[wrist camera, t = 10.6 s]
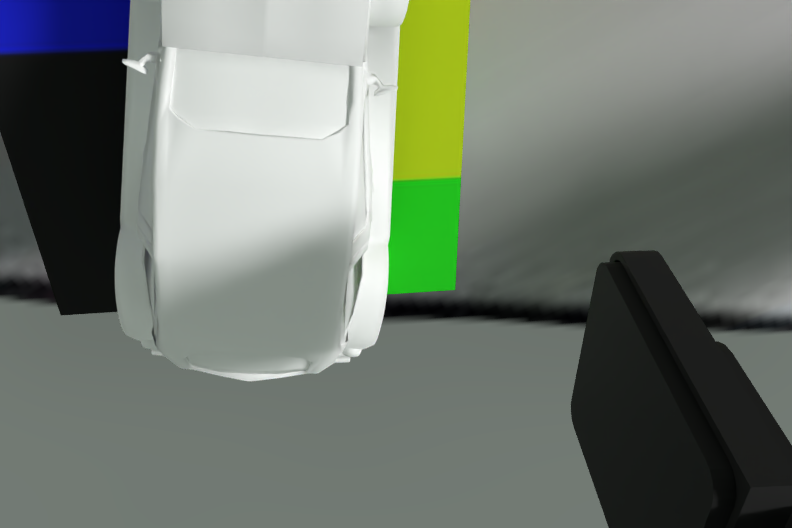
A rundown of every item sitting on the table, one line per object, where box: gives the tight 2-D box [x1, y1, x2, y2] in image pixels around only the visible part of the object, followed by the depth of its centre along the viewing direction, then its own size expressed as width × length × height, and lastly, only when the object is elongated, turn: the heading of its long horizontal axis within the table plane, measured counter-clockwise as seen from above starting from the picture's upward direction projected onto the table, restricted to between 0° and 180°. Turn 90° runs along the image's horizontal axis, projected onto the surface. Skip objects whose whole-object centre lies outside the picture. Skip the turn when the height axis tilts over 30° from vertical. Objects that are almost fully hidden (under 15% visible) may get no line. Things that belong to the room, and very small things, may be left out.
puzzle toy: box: [0, 0, 470, 315], centre depth 21 cm, size 10×10×10 cm
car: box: [115, 0, 409, 381], centre depth 15 cm, size 12×6×5 cm, turn 172°
